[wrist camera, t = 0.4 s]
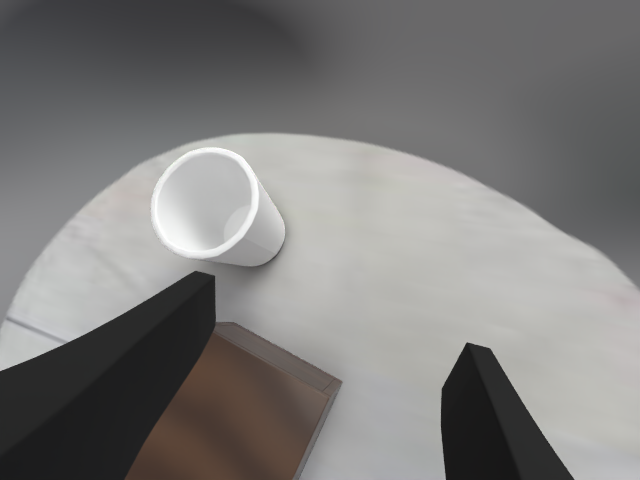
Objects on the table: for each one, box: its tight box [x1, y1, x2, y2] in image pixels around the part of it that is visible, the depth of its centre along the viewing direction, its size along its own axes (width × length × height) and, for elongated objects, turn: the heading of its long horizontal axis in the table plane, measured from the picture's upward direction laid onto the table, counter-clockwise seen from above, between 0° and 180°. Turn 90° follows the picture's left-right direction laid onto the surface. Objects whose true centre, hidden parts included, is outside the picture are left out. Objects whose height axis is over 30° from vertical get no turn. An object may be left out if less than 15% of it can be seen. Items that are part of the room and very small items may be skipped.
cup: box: [150, 148, 285, 266], centre depth 37 cm, size 10×10×13 cm
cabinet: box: [124, 322, 342, 480], centre depth 34 cm, size 15×14×9 cm
